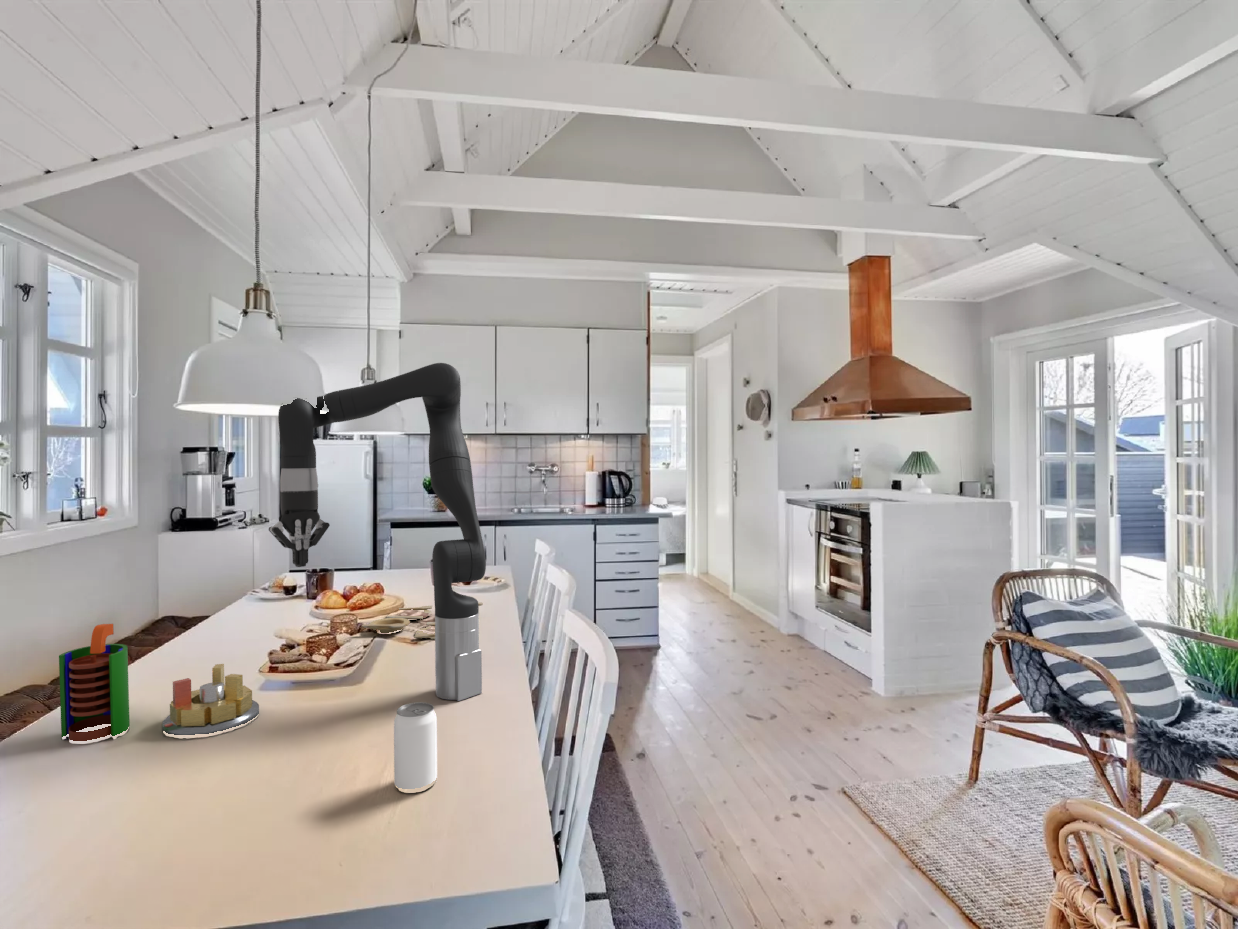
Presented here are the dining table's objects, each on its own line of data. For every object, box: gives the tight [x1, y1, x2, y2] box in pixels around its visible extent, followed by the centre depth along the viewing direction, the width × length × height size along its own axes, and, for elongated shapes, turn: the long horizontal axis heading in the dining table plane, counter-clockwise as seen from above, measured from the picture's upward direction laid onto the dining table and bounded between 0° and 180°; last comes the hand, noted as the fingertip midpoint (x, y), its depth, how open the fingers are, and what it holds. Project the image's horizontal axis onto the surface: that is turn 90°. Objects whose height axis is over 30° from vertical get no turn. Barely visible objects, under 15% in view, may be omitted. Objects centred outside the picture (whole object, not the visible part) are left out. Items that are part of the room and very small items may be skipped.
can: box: [393, 701, 438, 789], centre depth 104 cm, size 6×6×12 cm
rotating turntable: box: [162, 682, 260, 735], centre depth 129 cm, size 16×16×7 cm
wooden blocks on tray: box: [169, 663, 253, 726], centre depth 129 cm, size 13×13×8 cm
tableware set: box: [361, 602, 484, 640], centre depth 200 cm, size 35×29×4 cm
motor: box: [58, 623, 131, 741], centre depth 123 cm, size 10×9×20 cm
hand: (300, 566), depth 147 cm, fingers closed
